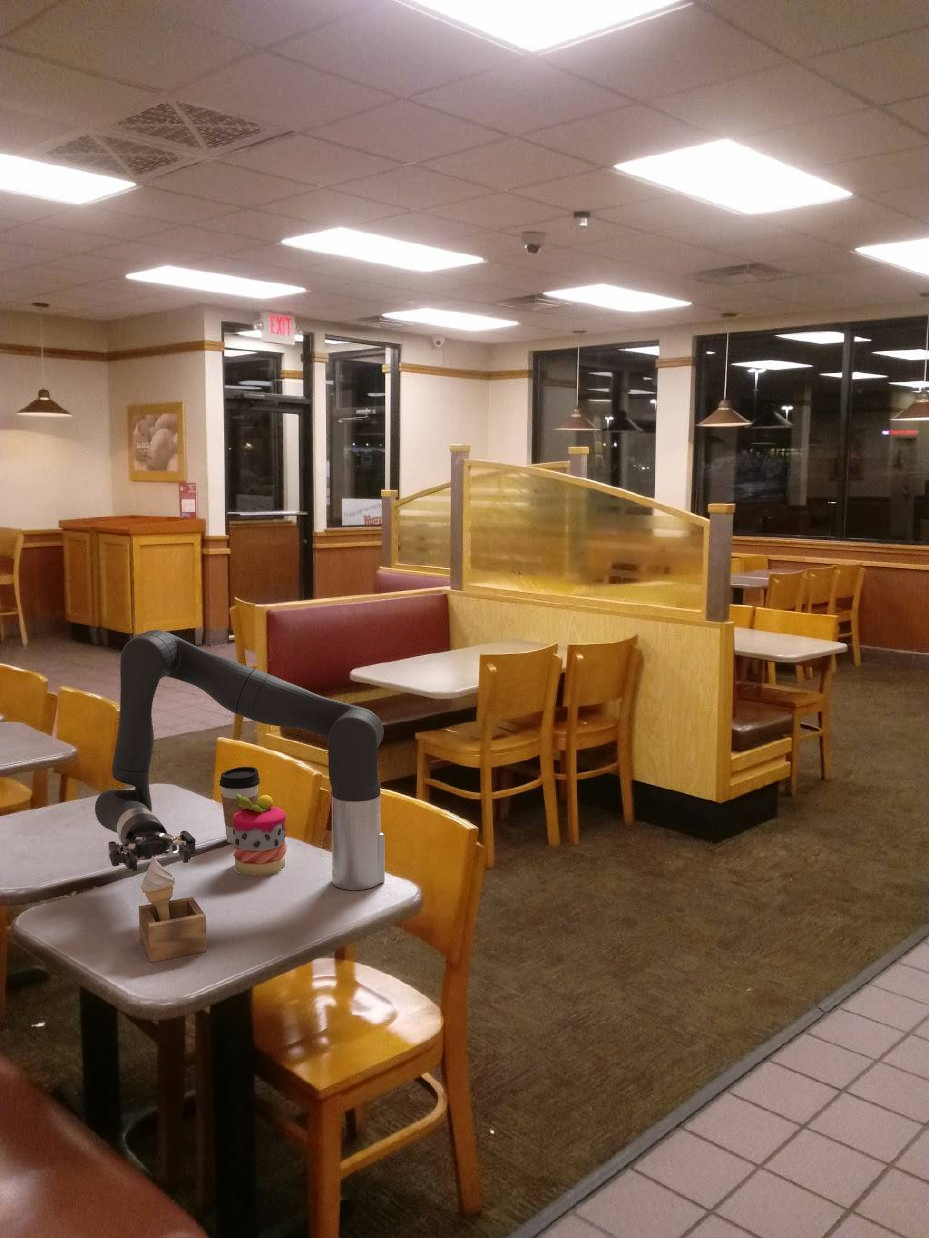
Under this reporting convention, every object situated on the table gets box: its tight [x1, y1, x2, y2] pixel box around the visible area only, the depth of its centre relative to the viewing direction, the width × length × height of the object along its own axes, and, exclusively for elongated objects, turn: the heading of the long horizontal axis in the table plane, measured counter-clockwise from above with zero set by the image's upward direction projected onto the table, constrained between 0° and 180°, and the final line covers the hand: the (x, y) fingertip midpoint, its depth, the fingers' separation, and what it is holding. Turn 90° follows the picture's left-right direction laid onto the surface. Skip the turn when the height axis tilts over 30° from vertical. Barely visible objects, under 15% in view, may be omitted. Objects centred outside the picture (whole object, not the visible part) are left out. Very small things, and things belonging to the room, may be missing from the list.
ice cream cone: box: [140, 855, 176, 921], centre depth 172 cm, size 6×6×15 cm
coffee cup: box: [218, 766, 261, 845], centre depth 221 cm, size 8×8×15 cm
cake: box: [232, 794, 288, 877], centre depth 206 cm, size 10×11×15 cm
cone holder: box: [138, 896, 208, 963], centre depth 171 cm, size 9×9×6 cm
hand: (161, 861), depth 176 cm, fingers open, 8 cm apart
